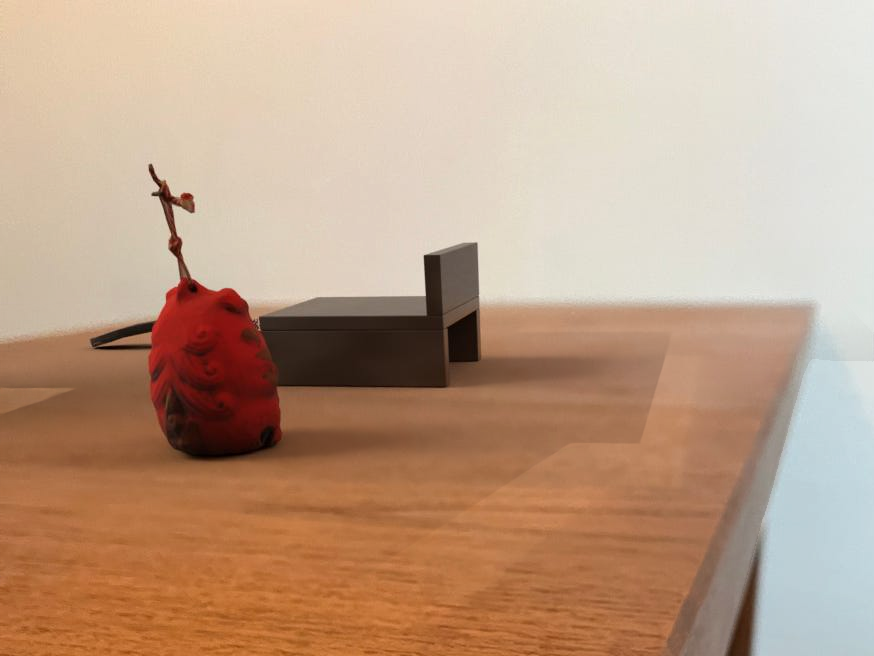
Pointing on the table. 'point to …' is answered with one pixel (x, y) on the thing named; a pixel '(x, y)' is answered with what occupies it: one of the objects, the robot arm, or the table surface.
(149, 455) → the table surface
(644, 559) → the table surface
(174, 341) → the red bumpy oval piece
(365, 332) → the brown miniature bench
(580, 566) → the table surface
